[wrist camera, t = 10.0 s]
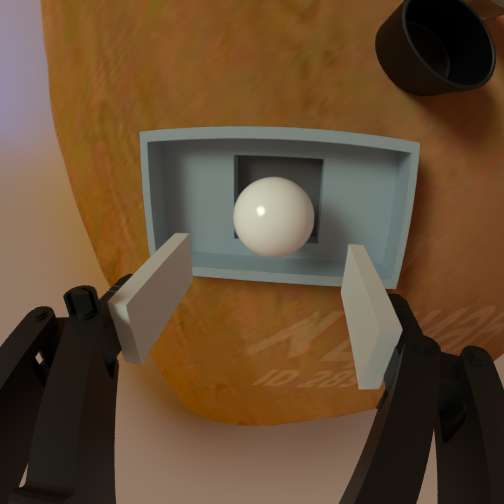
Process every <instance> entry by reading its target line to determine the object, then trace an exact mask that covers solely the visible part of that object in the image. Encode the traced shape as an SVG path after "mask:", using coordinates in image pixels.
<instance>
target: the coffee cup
mask: <svg viewBox="0 0 504 504" xmlns="http://www.w3.org/2000/svg"><path fill="white" fill-rule="evenodd" d="M462 1H464V2H465V3H466V4H468V5H469V6H470V7H471V8H472V9H473V10H474V11H475V12H476V13H477V14H478V16H479V17H480V18H481V19H482V20H485V19H491V18H494V17H498V16H501V15H504V0H462Z"/></svg>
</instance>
